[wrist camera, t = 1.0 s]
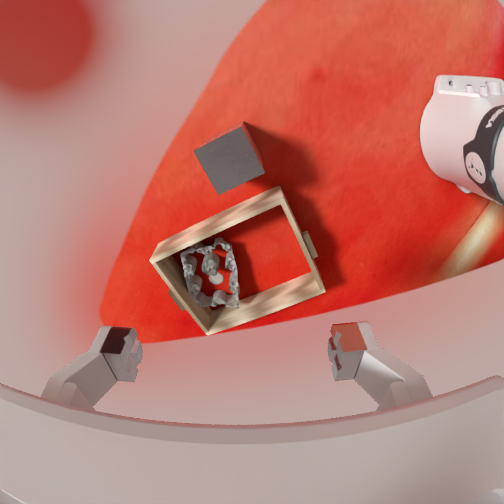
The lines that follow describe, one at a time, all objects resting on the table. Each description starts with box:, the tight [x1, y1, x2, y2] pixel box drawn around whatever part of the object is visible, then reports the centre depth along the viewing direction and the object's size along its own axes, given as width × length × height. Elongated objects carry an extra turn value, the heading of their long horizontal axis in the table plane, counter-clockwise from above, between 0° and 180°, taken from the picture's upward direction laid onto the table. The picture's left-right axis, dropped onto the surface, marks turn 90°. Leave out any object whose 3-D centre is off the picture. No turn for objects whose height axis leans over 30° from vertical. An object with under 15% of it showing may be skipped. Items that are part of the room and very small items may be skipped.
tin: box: [194, 122, 265, 195], centre depth 32 cm, size 5×5×8 cm
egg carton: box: [180, 237, 240, 309], centre depth 43 cm, size 11×8×4 cm
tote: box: [149, 185, 326, 335], centre depth 41 cm, size 21×15×5 cm
